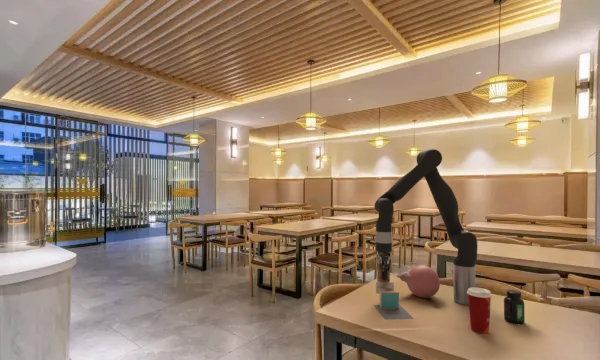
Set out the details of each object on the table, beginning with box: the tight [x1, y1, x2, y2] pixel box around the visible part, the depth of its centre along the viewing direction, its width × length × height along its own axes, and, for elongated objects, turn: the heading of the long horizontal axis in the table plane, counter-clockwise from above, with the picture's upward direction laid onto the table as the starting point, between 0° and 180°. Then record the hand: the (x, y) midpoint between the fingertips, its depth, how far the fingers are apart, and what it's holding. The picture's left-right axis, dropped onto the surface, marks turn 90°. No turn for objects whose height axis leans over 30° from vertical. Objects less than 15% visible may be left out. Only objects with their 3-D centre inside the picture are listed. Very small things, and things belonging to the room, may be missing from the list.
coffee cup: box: [467, 287, 493, 335], centre depth 120 cm, size 8×8×15 cm
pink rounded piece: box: [396, 264, 441, 299], centre depth 157 cm, size 15×20×15 cm
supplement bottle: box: [503, 289, 526, 326], centre depth 128 cm, size 7×7×12 cm
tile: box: [379, 290, 400, 309], centre depth 140 cm, size 8×2×7 cm, turn 93°
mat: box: [373, 303, 415, 320], centre depth 136 cm, size 12×16×1 cm
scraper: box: [375, 262, 395, 294], centre depth 147 cm, size 8×4×13 cm, turn 94°
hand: (383, 278), depth 148 cm, fingers closed on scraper, 3 cm apart
